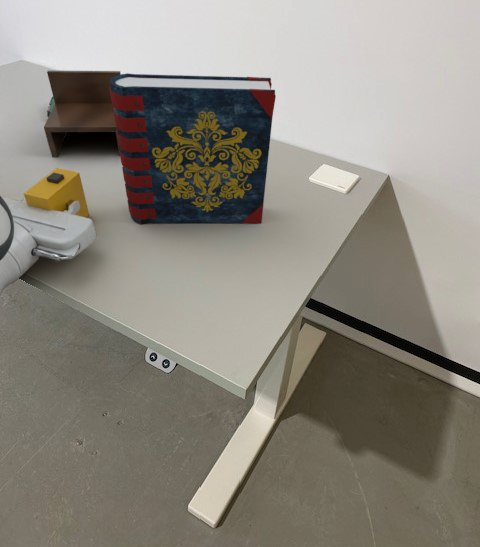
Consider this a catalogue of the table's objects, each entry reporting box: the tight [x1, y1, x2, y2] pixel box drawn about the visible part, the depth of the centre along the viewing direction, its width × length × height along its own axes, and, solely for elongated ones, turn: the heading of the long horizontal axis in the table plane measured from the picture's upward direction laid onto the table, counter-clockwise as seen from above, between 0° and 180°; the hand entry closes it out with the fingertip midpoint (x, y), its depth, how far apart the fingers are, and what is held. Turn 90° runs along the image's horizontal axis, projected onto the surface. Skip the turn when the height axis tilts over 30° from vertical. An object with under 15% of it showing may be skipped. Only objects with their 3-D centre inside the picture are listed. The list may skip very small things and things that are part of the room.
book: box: [109, 72, 276, 225], centre depth 73 cm, size 25×7×25 cm, turn 94°
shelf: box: [43, 70, 122, 158], centre depth 95 cm, size 16×14×14 cm
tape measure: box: [23, 167, 90, 218], centre depth 73 cm, size 9×4×10 cm, turn 163°
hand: (61, 200), depth 74 cm, fingers closed on tape measure, 4 cm apart
